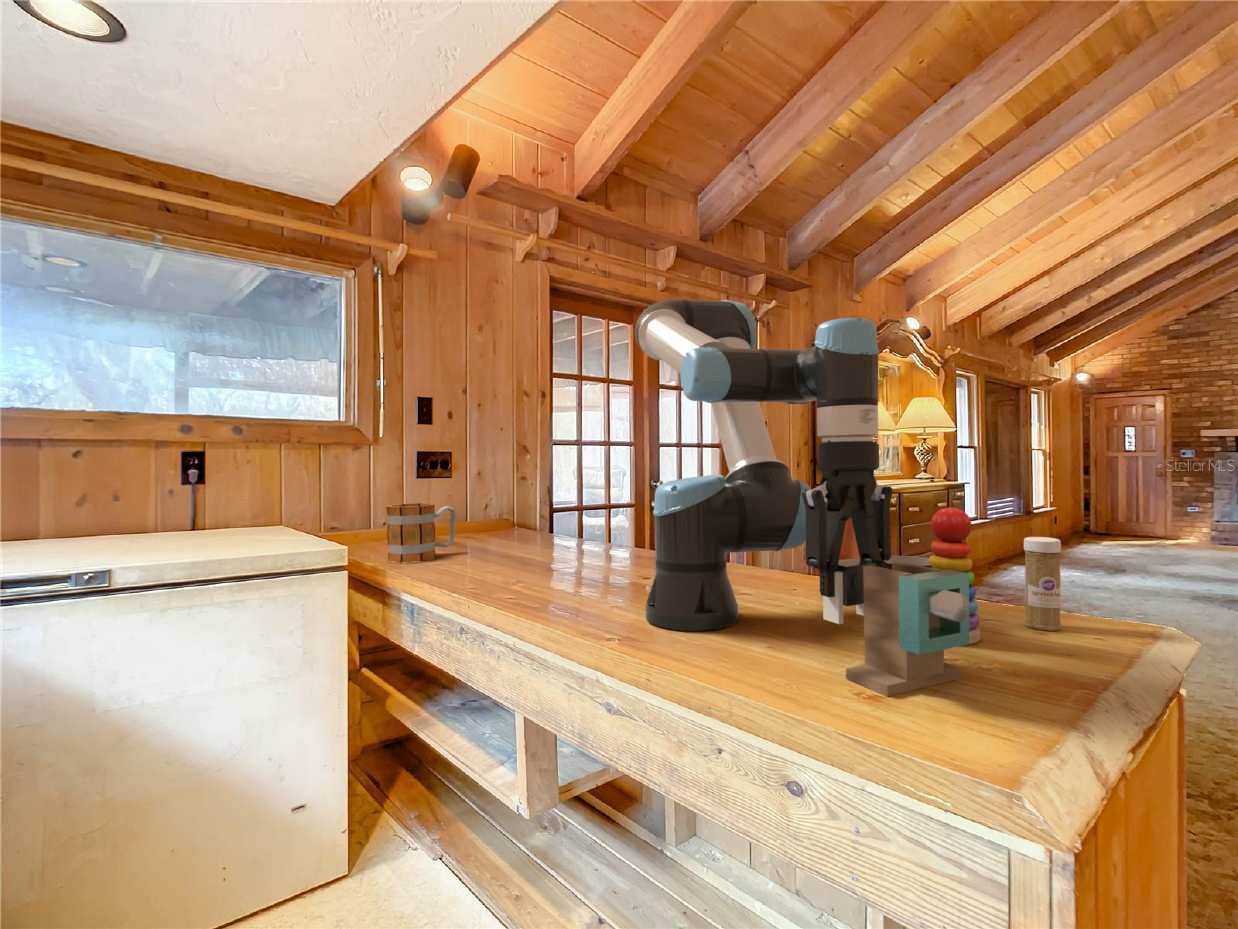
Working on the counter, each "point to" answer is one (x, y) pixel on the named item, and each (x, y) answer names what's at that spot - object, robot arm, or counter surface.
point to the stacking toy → (955, 555)
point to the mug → (415, 531)
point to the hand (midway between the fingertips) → (850, 618)
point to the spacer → (917, 612)
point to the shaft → (939, 602)
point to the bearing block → (894, 639)
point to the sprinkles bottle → (1042, 583)
